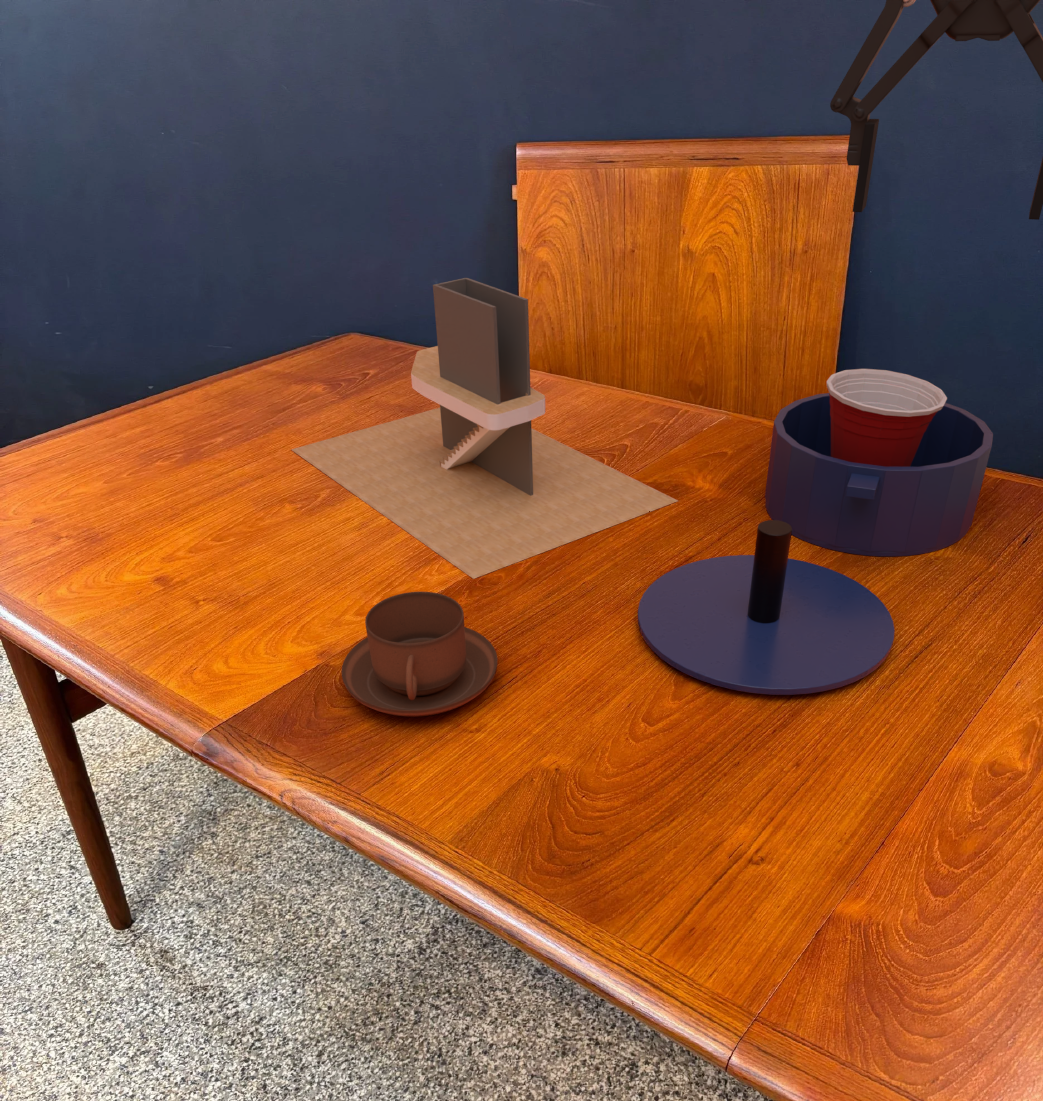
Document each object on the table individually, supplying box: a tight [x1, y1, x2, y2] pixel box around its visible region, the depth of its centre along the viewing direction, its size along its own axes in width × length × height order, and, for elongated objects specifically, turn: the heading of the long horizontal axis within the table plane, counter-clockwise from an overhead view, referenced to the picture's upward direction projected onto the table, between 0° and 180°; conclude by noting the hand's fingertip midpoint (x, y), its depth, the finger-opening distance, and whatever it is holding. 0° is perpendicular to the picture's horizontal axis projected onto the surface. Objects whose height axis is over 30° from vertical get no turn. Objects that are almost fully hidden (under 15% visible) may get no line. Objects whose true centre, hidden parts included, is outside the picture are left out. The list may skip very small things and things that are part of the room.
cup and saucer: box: [341, 591, 499, 717], centre depth 77 cm, size 12×12×6 cm
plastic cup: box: [826, 368, 948, 467], centre depth 96 cm, size 11×11×12 cm
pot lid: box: [637, 519, 895, 696], centre depth 81 cm, size 21×21×9 cm
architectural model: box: [290, 277, 679, 580], centre depth 104 cm, size 38×25×20 cm, turn 36°
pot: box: [764, 392, 994, 557], centre depth 98 cm, size 20×25×8 cm
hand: (944, 212), depth 83 cm, fingers open, 13 cm apart
